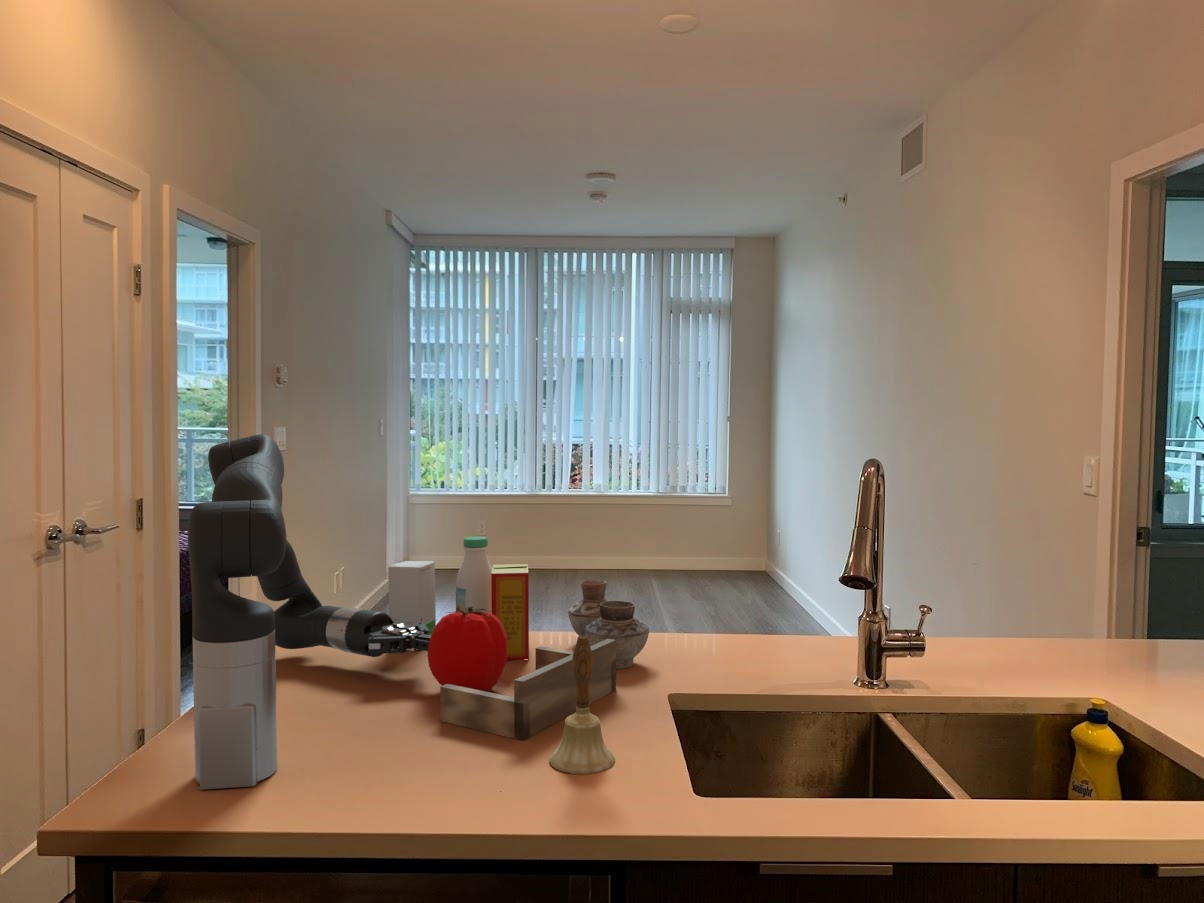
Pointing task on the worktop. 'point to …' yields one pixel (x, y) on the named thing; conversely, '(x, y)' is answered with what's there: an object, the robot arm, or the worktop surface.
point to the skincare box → (412, 593)
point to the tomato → (468, 649)
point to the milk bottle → (474, 577)
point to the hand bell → (582, 724)
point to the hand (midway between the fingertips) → (437, 644)
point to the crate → (531, 695)
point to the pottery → (608, 622)
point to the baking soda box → (512, 606)
